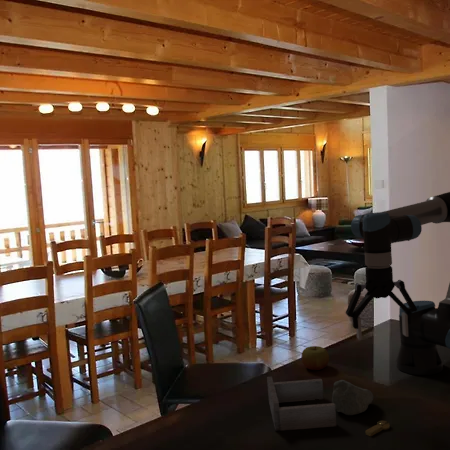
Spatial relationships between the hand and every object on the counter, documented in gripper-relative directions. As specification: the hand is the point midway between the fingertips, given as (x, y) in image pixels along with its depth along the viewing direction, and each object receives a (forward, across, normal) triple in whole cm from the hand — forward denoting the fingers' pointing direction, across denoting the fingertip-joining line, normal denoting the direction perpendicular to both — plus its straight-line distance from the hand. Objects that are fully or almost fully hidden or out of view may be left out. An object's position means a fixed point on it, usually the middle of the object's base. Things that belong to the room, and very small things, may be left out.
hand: (382, 337), depth 150 cm
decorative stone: (+21, +10, +1) cm, 23 cm away
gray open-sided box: (+21, +26, +1) cm, 33 cm away
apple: (+21, +15, -33) cm, 42 cm away
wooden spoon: (+21, +7, +14) cm, 26 cm away
